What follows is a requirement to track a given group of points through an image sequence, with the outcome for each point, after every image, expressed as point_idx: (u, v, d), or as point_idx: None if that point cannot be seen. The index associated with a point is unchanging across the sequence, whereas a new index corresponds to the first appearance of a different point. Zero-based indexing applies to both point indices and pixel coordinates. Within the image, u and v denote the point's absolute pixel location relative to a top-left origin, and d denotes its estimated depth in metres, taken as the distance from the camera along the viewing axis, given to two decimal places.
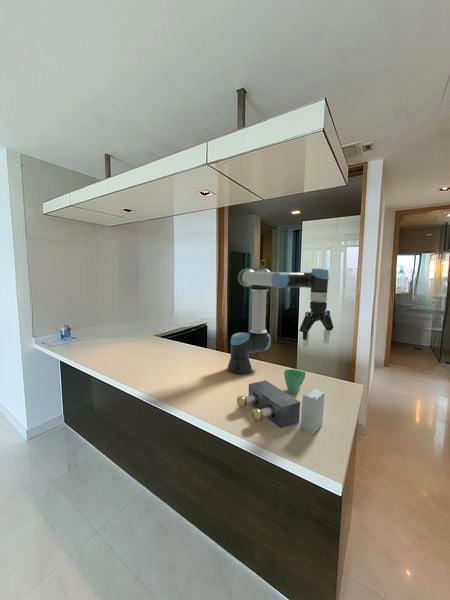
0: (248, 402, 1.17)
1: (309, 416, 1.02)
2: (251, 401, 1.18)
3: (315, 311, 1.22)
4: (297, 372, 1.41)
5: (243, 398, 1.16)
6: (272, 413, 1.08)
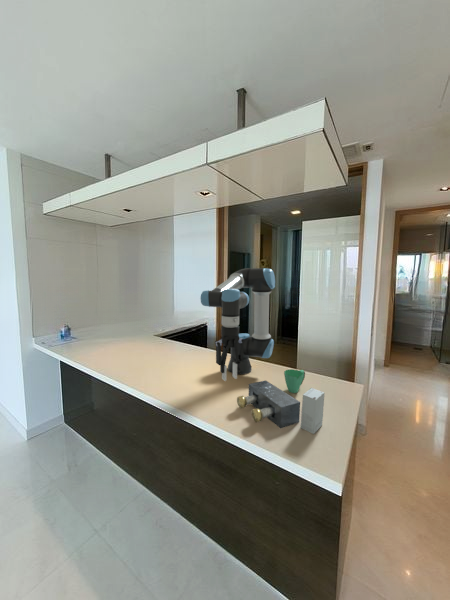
0: (248, 402, 1.17)
1: (309, 416, 1.02)
2: (251, 401, 1.18)
3: (224, 337, 1.08)
4: (297, 372, 1.41)
5: (243, 398, 1.16)
6: (272, 413, 1.08)
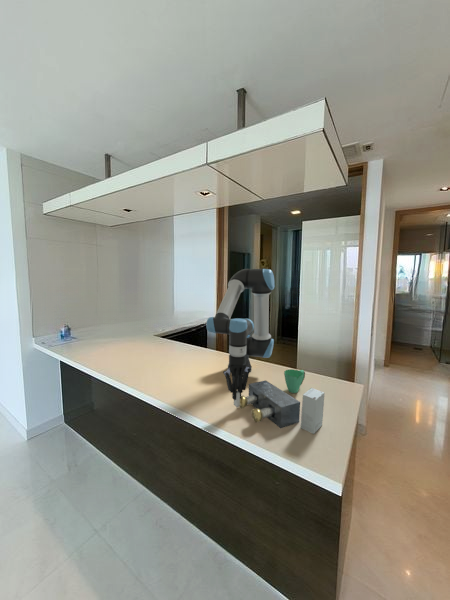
0: (248, 402, 1.17)
1: (309, 417, 1.02)
2: (252, 401, 1.18)
3: (231, 367, 1.11)
4: (297, 372, 1.41)
5: (244, 398, 1.16)
6: (272, 413, 1.08)
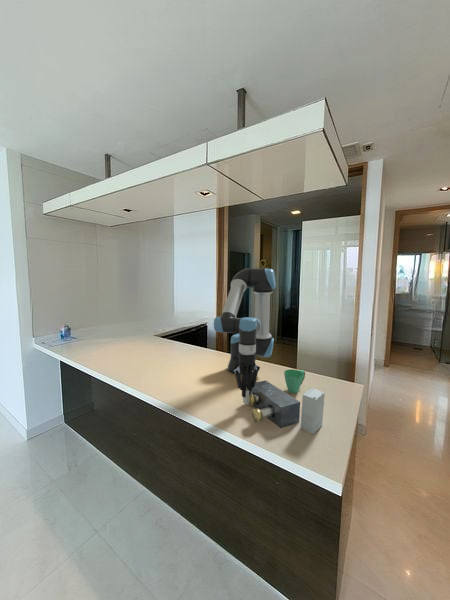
0: (257, 399, 1.19)
1: (309, 416, 1.02)
2: None
3: (241, 365, 1.14)
4: (297, 372, 1.41)
5: (253, 396, 1.18)
6: (272, 413, 1.08)
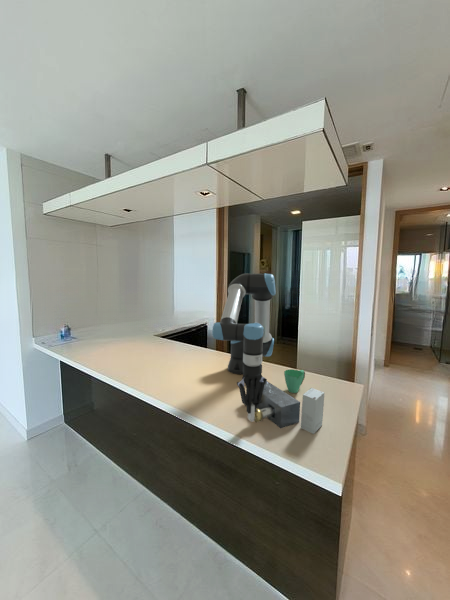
0: None
1: (309, 416, 1.02)
2: None
3: (246, 377, 1.01)
4: (297, 372, 1.41)
5: None
6: (272, 413, 1.08)
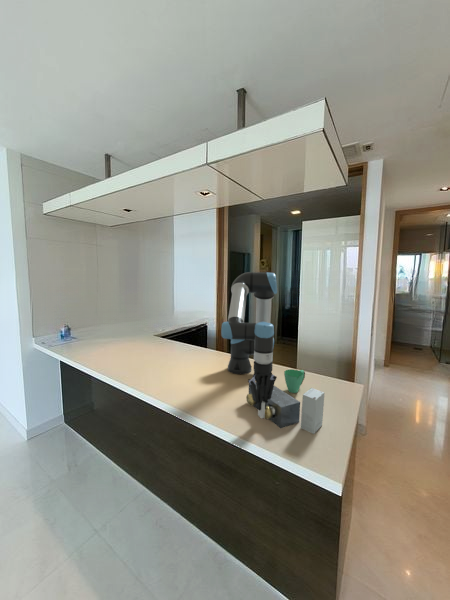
0: None
1: (309, 416, 1.02)
2: None
3: (257, 374, 1.03)
4: (297, 372, 1.41)
5: None
6: None
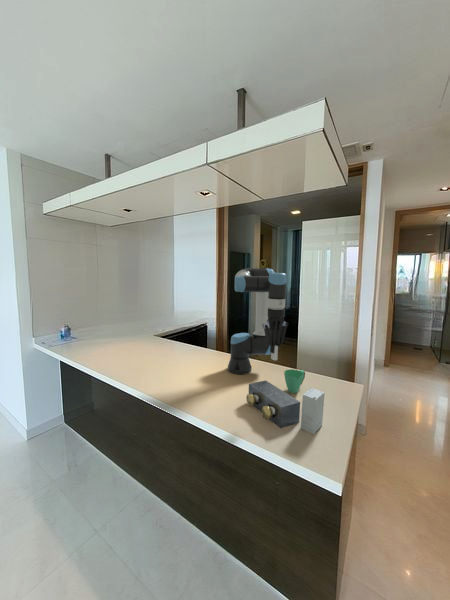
0: (257, 399, 1.19)
1: (309, 416, 1.02)
2: None
3: (270, 319, 1.13)
4: (297, 372, 1.41)
5: (253, 396, 1.18)
6: None
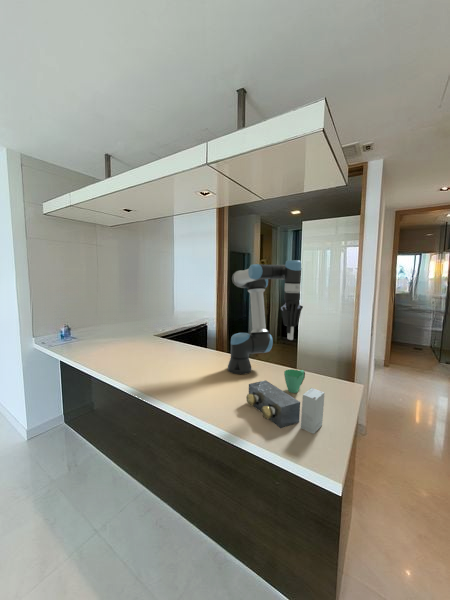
0: (257, 399, 1.19)
1: (309, 416, 1.02)
2: None
3: (287, 302, 1.26)
4: (297, 372, 1.41)
5: (253, 396, 1.18)
6: None
